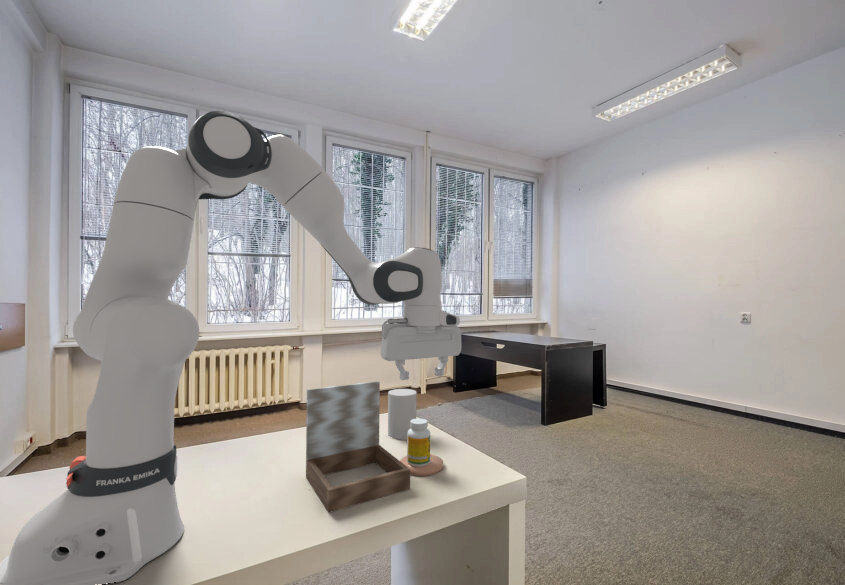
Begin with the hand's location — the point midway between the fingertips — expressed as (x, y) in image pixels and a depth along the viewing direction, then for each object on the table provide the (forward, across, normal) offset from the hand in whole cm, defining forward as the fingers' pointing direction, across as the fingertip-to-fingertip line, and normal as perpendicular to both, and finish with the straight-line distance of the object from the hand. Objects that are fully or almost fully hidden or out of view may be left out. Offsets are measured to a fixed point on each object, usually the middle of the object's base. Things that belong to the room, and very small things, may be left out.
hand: (422, 377), depth 89 cm
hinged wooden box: (+21, -16, 0) cm, 26 cm away
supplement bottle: (+20, -1, 0) cm, 20 cm away
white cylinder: (+21, +6, +21) cm, 30 cm away
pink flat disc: (+21, 0, 0) cm, 21 cm away
